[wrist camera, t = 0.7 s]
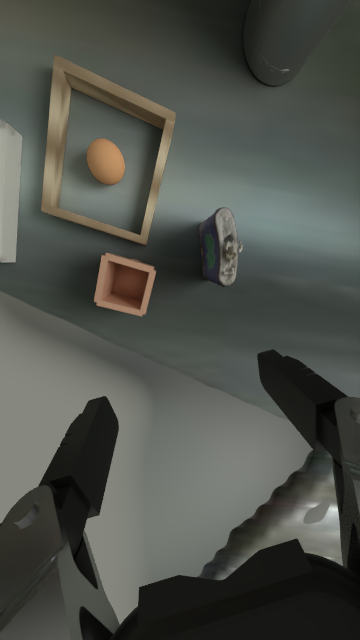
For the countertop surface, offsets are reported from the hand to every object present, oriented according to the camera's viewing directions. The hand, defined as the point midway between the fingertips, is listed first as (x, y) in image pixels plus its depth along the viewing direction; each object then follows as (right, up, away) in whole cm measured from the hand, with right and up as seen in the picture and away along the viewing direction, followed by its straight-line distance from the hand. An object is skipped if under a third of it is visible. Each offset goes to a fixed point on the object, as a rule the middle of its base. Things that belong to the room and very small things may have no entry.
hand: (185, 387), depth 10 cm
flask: (+4, +15, +21) cm, 26 cm away
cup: (-8, +10, +21) cm, 25 cm away
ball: (-10, +24, +14) cm, 29 cm away
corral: (-10, +24, +16) cm, 31 cm away
